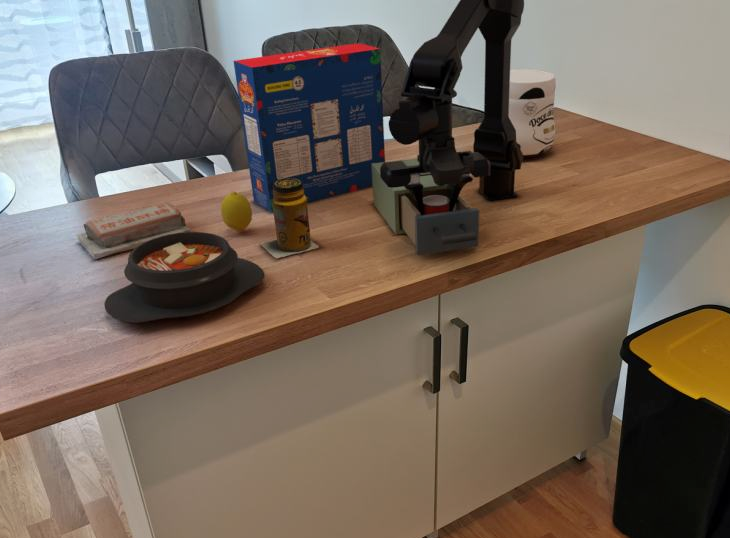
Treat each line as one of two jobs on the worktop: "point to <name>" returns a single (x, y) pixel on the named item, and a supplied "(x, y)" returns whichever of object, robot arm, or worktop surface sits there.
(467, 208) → the drawer
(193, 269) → the casserole
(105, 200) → the worktop surface
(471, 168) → the robot arm
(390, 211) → the cabinet
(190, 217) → the worktop surface
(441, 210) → the can
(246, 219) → the lemon
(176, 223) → the packaged product
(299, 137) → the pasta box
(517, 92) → the milk container
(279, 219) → the condiment
